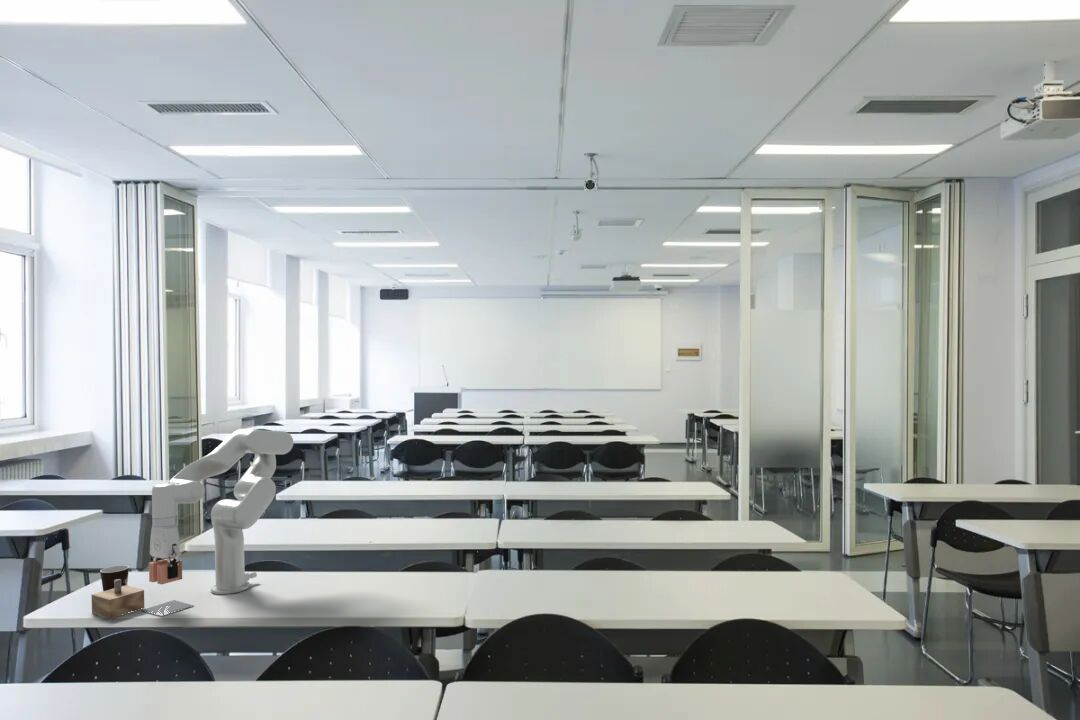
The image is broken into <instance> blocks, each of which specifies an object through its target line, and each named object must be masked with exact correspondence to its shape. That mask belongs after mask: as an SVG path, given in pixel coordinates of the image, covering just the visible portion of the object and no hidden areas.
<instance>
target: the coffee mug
mask: <svg viewBox="0 0 1080 720" xmlns="http://www.w3.org/2000/svg"><path fill="white" fill-rule="evenodd" d="M129 571H130V566H129V565H123V564H122V565H120V564H119V565H113V566H108V567H104V568H102V569H100V570H99V573H100V578H101V579H100V580H101V584H102V585H101V586H102V592H103V591H106V590H110V589H114V580H117V579H121V586H125V585H127V586H128V581H129Z"/></svg>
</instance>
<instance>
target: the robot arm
mask: <svg viewBox="0 0 1080 720" xmlns="http://www.w3.org/2000/svg"><path fill="white" fill-rule="evenodd" d="M293 446H294V439H293V436H292V435H291V434H290V433H289V432H287V431H281V430H263V429H255V428H254V429H252V428H239V429H237V430H235V431H233V432H232V433H230V434H229V435H228V437H226V438H225V439H224V440H223V441H222V442H221V443H220V444H218V445H217V447H215V448H214V449H213V450H212V451H211V452H209V453H208V454H207V455H204V456H203V457H200V458H199V459H197V460H196V461H195V460H194V461H193V462H191V463H190V464H187V465H186V466H185V467H183V468H182V469H181V470H180V471H179V472H177V473H176V474H175V475H174V476H173V477H172V478H171V479H170V480H169V481H168V482H166V483H164V482H163V483H158V484H155V485H154V486H152V489H151V509H152V510H151V512H152V513H151V515H152V516H151V517H152V518H151V519H152V520H151V521H152V525H151V530H150V536H149V537H150V539H149V555H150V556H151V557H152V562H155V561H159V560H163V559H167V561H168V565H169V567H167V569H168V579H172V578H176V577H178V565H179V561H180V560H181V558H182V556H183V554H182V553H181V552H180V549H181V547H180V533H179V527H178V526H179V505H180V504H194V503H197V502H199V501H201V500H202V499H203V497H204V495H205V491H206V489H205V487H204V485H203V484H202V483H201V481H203V480H205V479H207V478H208V479H209V478H210V477H215V476H218V475H221V474H223V473H226V472H227V471H229V470H230V469H231V468H232V467H233V466H234V465H235V464H236V463H238V461H239V460H240V459H241V458H243V457H244V456H245V455H246V454H254V458H253V461H252V463H251V464H250V466H249V468H247V470H246V471H245V472H244V474H243V475H242V476H241V477H240V479H238V481H237V482H236V484H235V485H234V488H233V495H234V497H235V498H236V499H232V498H231V499H230V498H227V499H226V498H225V499H220V500H219V501H217V502H216V503H215V504H214V505H213V506H212V508H211V513H210V519H211V524H212V528H213V537H214V564H215V565H214V566H215V567H214V569H215V574H214V575H215V585H212V586H211V588H210V592H211V593H212V594H215V595H231V594H236V593H241V592H244V591H246V590H248V589H249V588H250V586H251V584H250V582H249V580H250V579H254V578H257V575H258V574H257V572H256V571H252V572H251V573H249V572H246V571H245V570H246V569H245V537H244V531H243V530H247V529H249V528H251V527H252V526H254V525H255V524H256V523H257V522H258V521H259V519H260V518H261V516H262V515H263V514H264V512H265V511H266V510H267V509H268V507H269V506H270V504H271V503H272V502H273V500H274V498H275V495H276V493H277V492H276V491H277V487H276V484H275V482H274V480H273V479H272V477H273V475H274V474H275V472H276V468H277V459H276V455H286V454H288V453H290V452H291V450H292V449H293ZM171 559H173V560H172V562H171Z"/></svg>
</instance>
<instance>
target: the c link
mask: <svg viewBox="0 0 1080 720" xmlns="http://www.w3.org/2000/svg"><path fill="white" fill-rule="evenodd" d="M173 559H174V558H173ZM173 559H171V562H172V560H173ZM167 567H169V565H168V561H167V559H163V560H159V561H155V562H153V561H151V562H148V571H149V573H148V575H149V576H148V577H149V580H148V582H150V583H157V584H159V585H165V584H170V583H172V582H176V581H180V580H183V560H181V559H180V561H179V565H178V577H176V578H172V579H168V569H167Z"/></svg>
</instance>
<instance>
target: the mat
mask: <svg viewBox="0 0 1080 720" xmlns="http://www.w3.org/2000/svg"><path fill="white" fill-rule="evenodd" d="M166 606H168V607H169V606H170V607H169V608H168V607H167V608H168V609H167V608H166ZM191 606H193V607H194V604H190V603H186V602H182V601H179V600H174V599H173V600H170V601H167V602H163V603H159V604H158V605H154V606H150V607H148V608H144V609H141V612H143V611H146V612H150V613H151V612H152V611H153V612H152V613H153V614H154V613H155V614H156V613H157V612H159V611H160V612H161V613H162V614H163V615H164V610H165V608H166V609H167V610H168V611H169V612H170V613H171V612H174V611H178V610H181V609H184V610H186V609H185V608H187V609H189V608H188V607H191ZM161 607H162V608H161ZM160 608H161V609H160ZM191 608H192V607H191ZM159 609H160V610H159ZM158 610H159V611H158ZM167 610H166V611H167ZM168 611H167V612H168ZM181 611H182V610H181ZM146 612H145V613H146ZM160 612H159V613H160ZM169 612H168V613H169ZM178 612H179V611H178ZM161 613H160V614H161ZM153 614H152V615H153Z"/></svg>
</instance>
